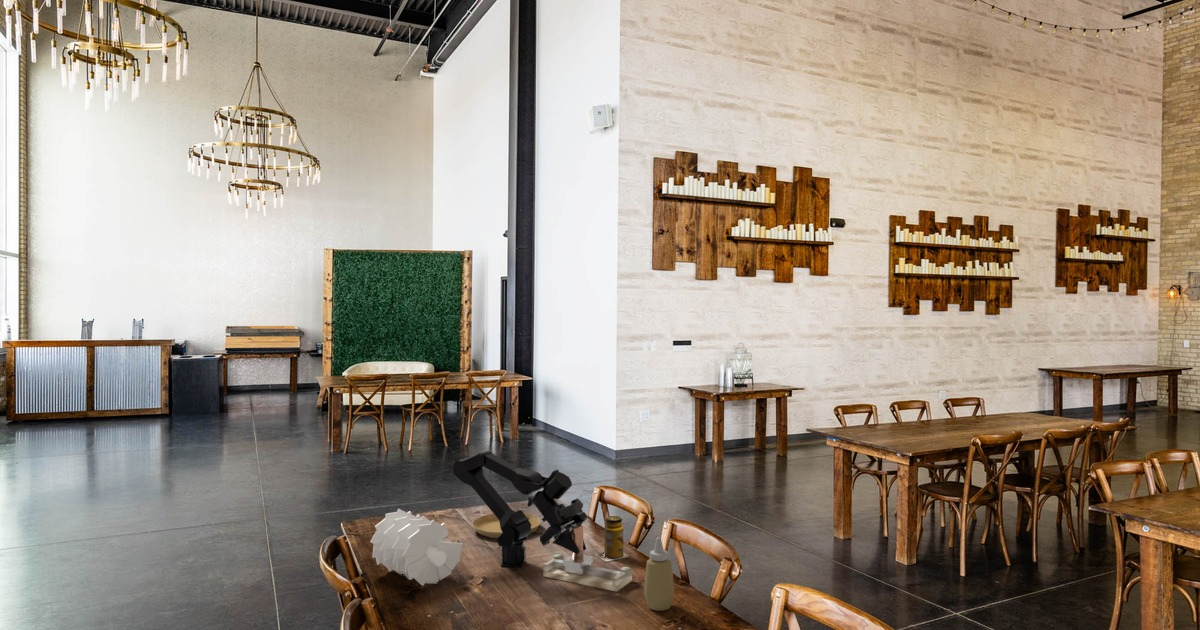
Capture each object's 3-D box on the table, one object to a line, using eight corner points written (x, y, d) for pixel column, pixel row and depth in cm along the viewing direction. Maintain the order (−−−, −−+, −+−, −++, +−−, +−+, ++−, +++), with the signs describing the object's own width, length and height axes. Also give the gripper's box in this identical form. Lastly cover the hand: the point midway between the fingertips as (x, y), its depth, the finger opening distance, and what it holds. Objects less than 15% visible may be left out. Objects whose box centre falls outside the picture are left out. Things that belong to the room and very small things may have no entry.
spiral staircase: (426, 605, 201) (379, 578, 218) (473, 562, 212) (425, 540, 229) (402, 554, 194) (355, 530, 211) (451, 513, 206) (403, 494, 223)
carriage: (562, 572, 208) (562, 528, 208) (575, 564, 214) (575, 522, 214) (580, 576, 205) (580, 531, 205) (593, 568, 212) (592, 525, 211)
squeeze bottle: (641, 601, 192) (641, 533, 192) (671, 599, 193) (671, 532, 192) (646, 614, 184) (645, 543, 184) (677, 612, 185) (676, 542, 184)
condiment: (629, 556, 226) (628, 518, 226) (606, 562, 222) (606, 523, 221) (615, 550, 232) (615, 513, 232) (593, 555, 228) (593, 517, 228)
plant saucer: (549, 522, 264) (549, 513, 264) (528, 543, 241) (528, 533, 240) (487, 518, 269) (487, 510, 269) (461, 539, 246) (461, 529, 246)
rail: (541, 575, 211) (541, 562, 211) (557, 565, 219) (557, 553, 219) (619, 592, 198) (619, 578, 198) (634, 581, 206) (634, 567, 206)
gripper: (548, 499, 204) (581, 544, 198) (582, 484, 220) (614, 526, 214) (525, 523, 208) (558, 568, 202) (560, 507, 224) (591, 548, 218)
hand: (581, 551), depth 209 cm, fingers closed on carriage, 3 cm apart
